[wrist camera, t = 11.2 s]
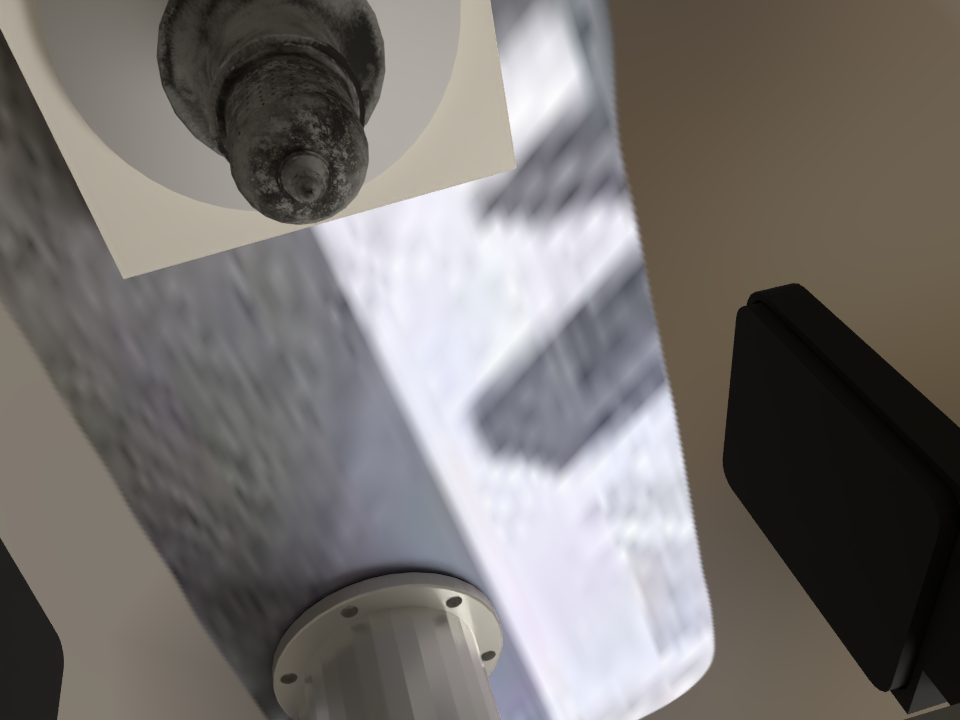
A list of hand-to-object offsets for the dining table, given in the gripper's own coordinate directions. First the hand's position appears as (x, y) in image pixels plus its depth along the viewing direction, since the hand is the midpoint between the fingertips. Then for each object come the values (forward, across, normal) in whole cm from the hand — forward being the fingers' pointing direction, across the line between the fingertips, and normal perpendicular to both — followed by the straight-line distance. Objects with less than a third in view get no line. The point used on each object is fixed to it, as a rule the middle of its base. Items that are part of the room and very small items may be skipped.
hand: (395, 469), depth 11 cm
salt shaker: (+20, 0, 0) cm, 20 cm away
